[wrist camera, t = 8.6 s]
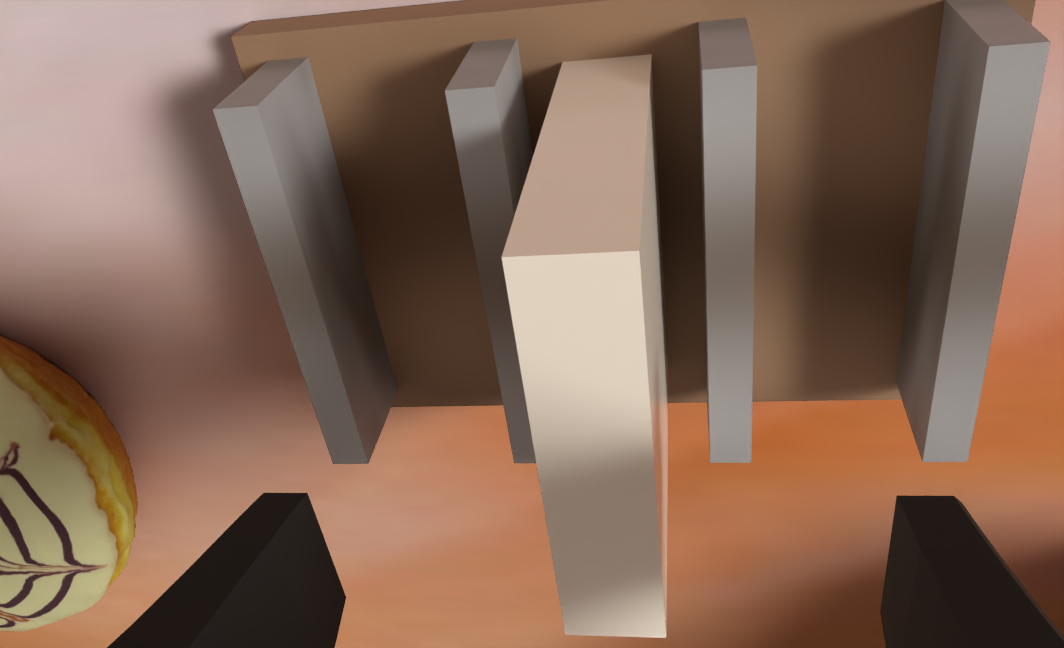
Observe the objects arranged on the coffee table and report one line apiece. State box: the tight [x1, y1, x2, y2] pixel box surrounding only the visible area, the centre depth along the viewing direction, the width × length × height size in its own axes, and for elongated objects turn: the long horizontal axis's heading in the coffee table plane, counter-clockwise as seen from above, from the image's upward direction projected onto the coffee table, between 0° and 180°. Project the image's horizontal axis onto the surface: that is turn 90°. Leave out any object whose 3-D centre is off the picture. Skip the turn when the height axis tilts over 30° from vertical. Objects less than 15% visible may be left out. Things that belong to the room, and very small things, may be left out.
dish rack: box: [212, 0, 1050, 464], centre depth 17 cm, size 9×14×4 cm, turn 97°
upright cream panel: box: [502, 54, 668, 638], centre depth 15 cm, size 7×2×7 cm, turn 7°
